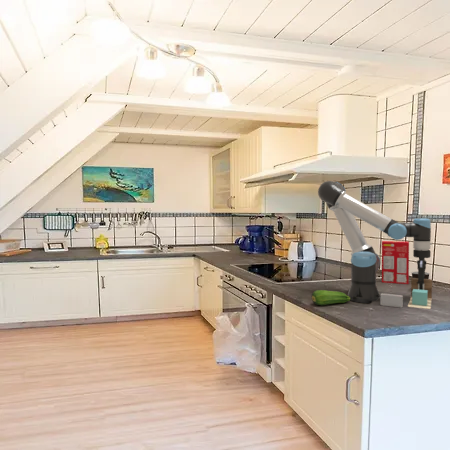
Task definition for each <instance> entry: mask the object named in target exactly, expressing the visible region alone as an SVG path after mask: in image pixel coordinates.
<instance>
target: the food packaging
mask: <svg viewBox="0 0 450 450" xmlns="http://www.w3.org/2000/svg"><path fill="white" fill-rule="evenodd" d="M409 271H410V242H409V241H399V240H395V241H390V240H381V283H382V284H383V283H385V284H399V285H400V284H402V285H409V284H410V280H409V276H410V272H409Z"/></svg>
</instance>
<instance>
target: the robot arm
mask: <svg viewBox="0 0 450 450" xmlns="http://www.w3.org/2000/svg"><path fill="white" fill-rule="evenodd" d="M346 191H347V189H346V188H345V187H344V185H343V184H342V183H340V182H338V181H332V180H327V181H324V182H323V183H321V184H320V185H319V186H318V190H317V194H318V197H319V199H320V200H321V201H323V202H324V203H325V204H326V206H327V207H328V210H329V211H332V212H333V213H334V216H335V218H336V220H337V221H338V224H339V226H340V228H341V230H342V232H343V234H344V236H345V238H346V240H347V242H348V244H349V247H350V249H351V253H350V255H351V259H350V262H351V263H350V264H351V266H350V267H351V268H350V272H351V274H350V275H351V280H350V281H351V284H350V287H349V290H348V292H347V296H349V297H350V300H349V301H352V302H356V303H362V304H372V302H376V301H379V300H381V294H380V293H379V289H378V286H377V271H378V270H379V269H380V267H381V258H380V256H379V255H378V254H377V253H376V251H375V250H374V248H373V246H372V245H371V244H369V243H368V242H367V240H366V237H365V235H364V234H363V232H362V230H361V228H360V226H359V224H358V222H357V219H356V218H358V219H360V220H361V221H363V222H364V223H367V224H368V225H370V226H372V227H374V228H375V229H377V230H379V231H380V232H383V233H384V234H385V235H387V237H388V238H389V237H390V238H392V240H395V241H399V240H402V239H404V238H413V239H412V240H413V241H412V248H413V251H412V253H413V254H412V255H413V257H414V258H417V259H418V260H417V261H416V264H417V272H418V282H416V283H417V284H418V289H419V290H424V279H425V272H426V269H427V260H426V259H430V258H431V255H432V253H431V246H433V243H432V242H431V237H432V231H431V230H432V226H431V225H432V222H431V219H429V218H425V217H424V218H421V217H420V218H413V221H411V222H403V221H402V222H399V221H397V220H395V219H393V218H391V217H390V216H387V215H385V214H383V213H382V212H381V211H378V210H377V209H375V208H373V207H371V206H369V205H367V204H365V203H364V202H362V201H360V200H359V199H357V198H354V197H353V196H351V195H350V194H348V193H347V192H346ZM420 280H421V281H420Z"/></svg>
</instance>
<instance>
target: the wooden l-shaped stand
mask: <svg viewBox="0 0 450 450" xmlns="http://www.w3.org/2000/svg"><path fill="white" fill-rule="evenodd" d="M410 281H411V282H410V298H409V302H408V305H407V307H409V308H415V309H416V308H418V309H425V310H431V308H432V307H431V306H432V300H433V298H432V297H433V279H431V278H429V279H424V290H428V294H427V306H422V305H413V304H412V291H413V289H418V284H417V283H416V282H418V278H412V277H411V278H410ZM420 281H421V280H420Z"/></svg>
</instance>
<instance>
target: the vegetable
mask: <svg viewBox="0 0 450 450" xmlns="http://www.w3.org/2000/svg"><path fill="white" fill-rule="evenodd" d="M311 300H312V302H313V304H314V305H317V306H327V305H333V304H335V305H336V304H344V303H347V302H348V301H349V302H350V301H351V300H350V297H349V296H348V294H346V293H344V292H342V291H336V290H325V289H324V290H323V289H317V290H315V291H313V293H311Z"/></svg>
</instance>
